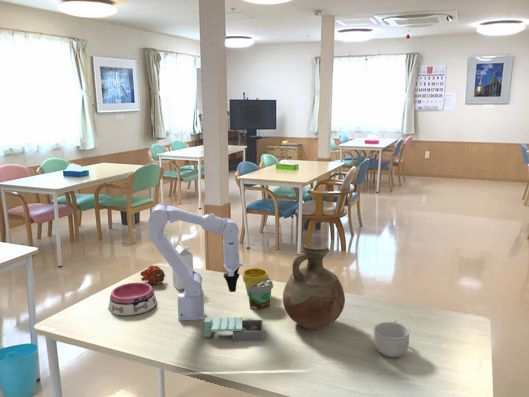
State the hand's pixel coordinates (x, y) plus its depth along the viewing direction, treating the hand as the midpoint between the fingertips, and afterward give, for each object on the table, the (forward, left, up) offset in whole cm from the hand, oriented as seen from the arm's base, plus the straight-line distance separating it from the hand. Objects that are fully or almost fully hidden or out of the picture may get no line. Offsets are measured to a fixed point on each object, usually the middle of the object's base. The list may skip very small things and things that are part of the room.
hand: (233, 287), depth 168 cm
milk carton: (-22, +26, -11) cm, 36 cm away
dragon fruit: (-36, +30, -11) cm, 49 cm away
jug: (+29, -11, -11) cm, 32 cm away
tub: (+6, -18, -10) cm, 21 cm away
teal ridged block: (-3, -18, -9) cm, 20 cm away
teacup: (+52, -28, -11) cm, 59 cm away
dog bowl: (-40, +8, -11) cm, 42 cm away
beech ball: (+4, -18, -10) cm, 21 cm away
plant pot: (+9, +16, -11) cm, 21 cm away
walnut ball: (+8, -17, -10) cm, 21 cm away
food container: (+12, +4, -11) cm, 16 cm away
